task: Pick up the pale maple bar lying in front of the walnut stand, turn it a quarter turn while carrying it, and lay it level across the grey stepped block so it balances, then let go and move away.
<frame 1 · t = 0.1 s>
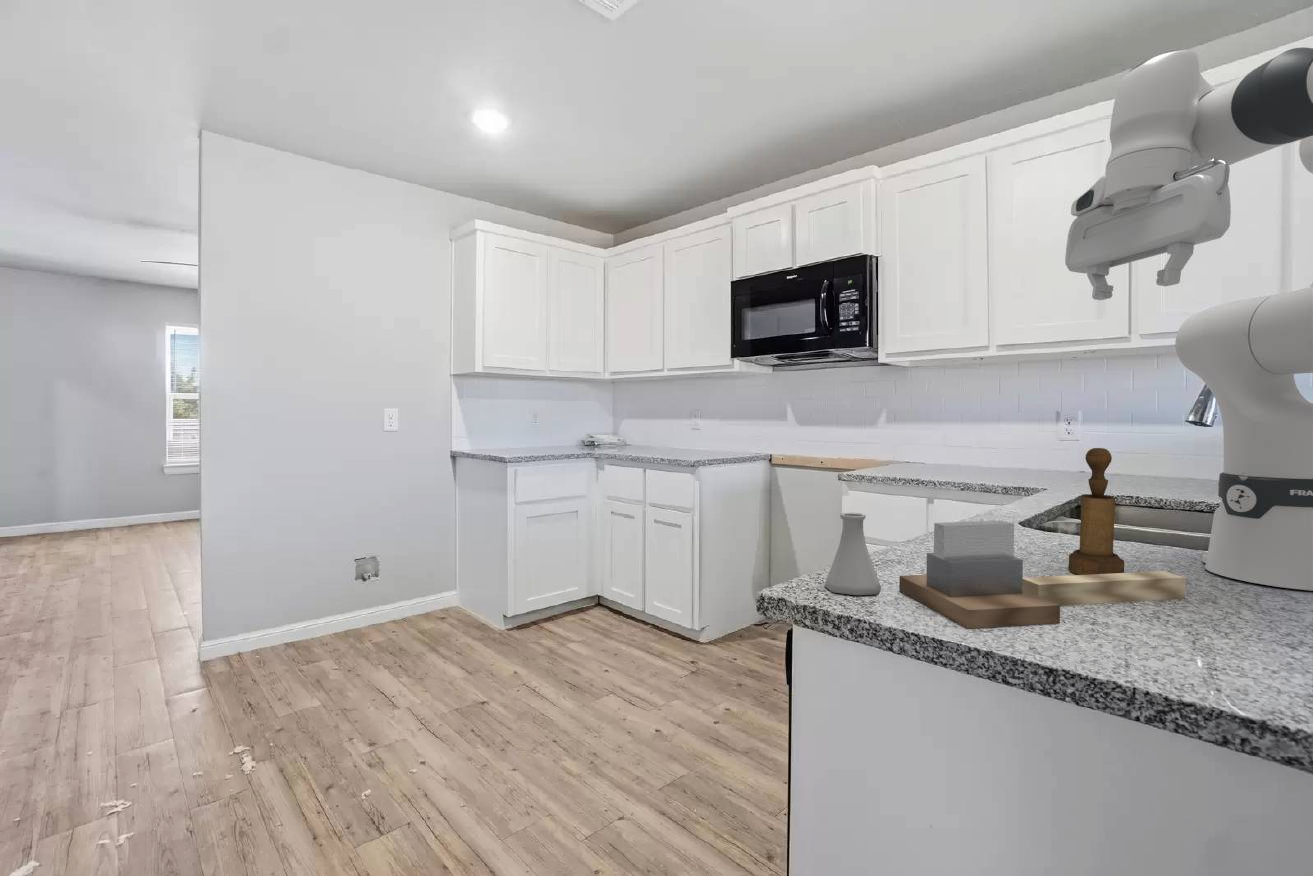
hand: (1132, 292, 80), 39 cm above the counter, tool pointing down, fingers open, 8 cm apart
flask: (852, 590, 81), on the counter
brown tall knobbed post: (1095, 574, 88), on the counter
maple bar: (1102, 601, 76), on the counter
grey stepped block: (973, 556, 73), on the walnut base, point 6 cm above the counter
walnut base: (972, 605, 74), on the counter
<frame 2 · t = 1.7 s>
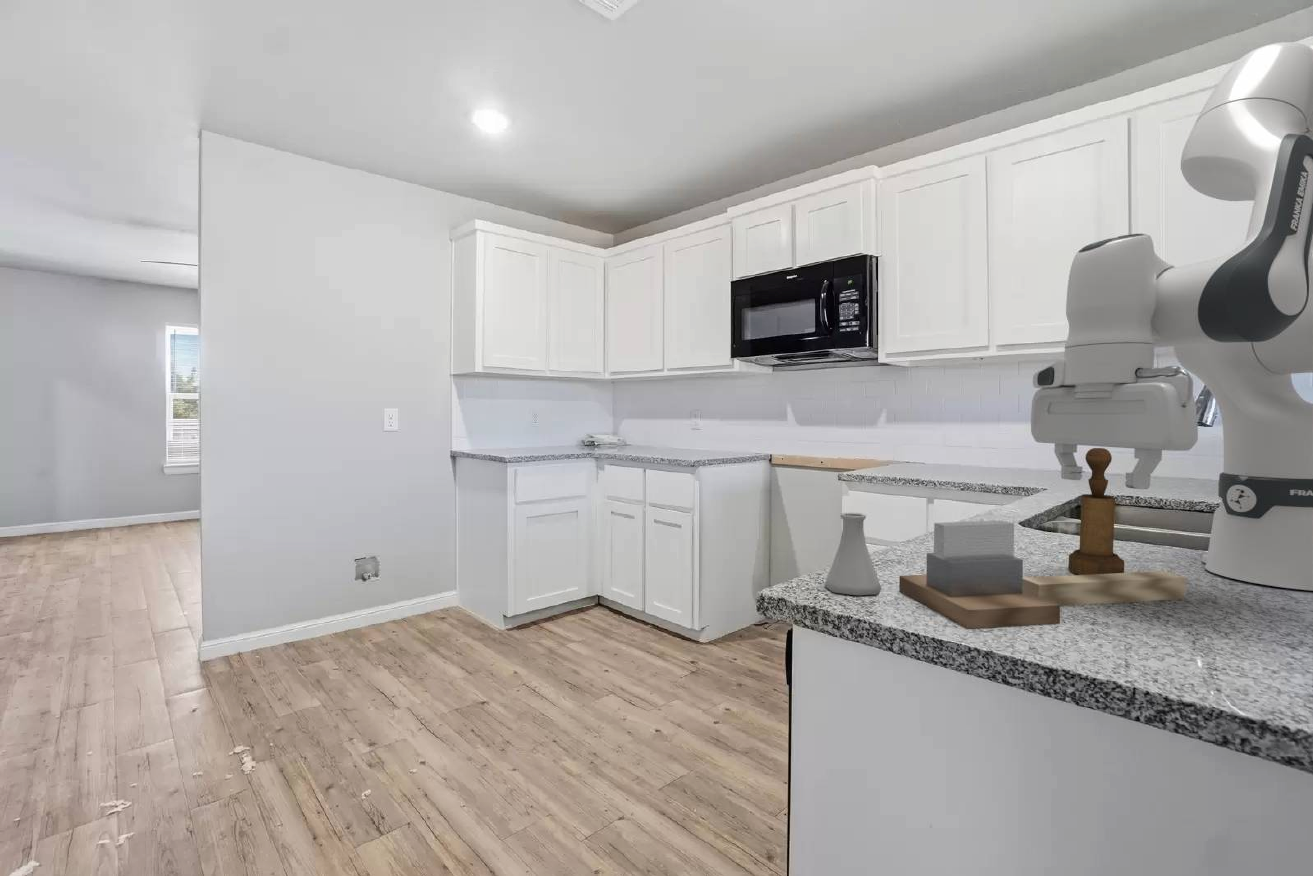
hand: (1102, 483, 75), 14 cm above the counter, tool pointing down, fingers open, 8 cm apart
nothing on the counter moved.
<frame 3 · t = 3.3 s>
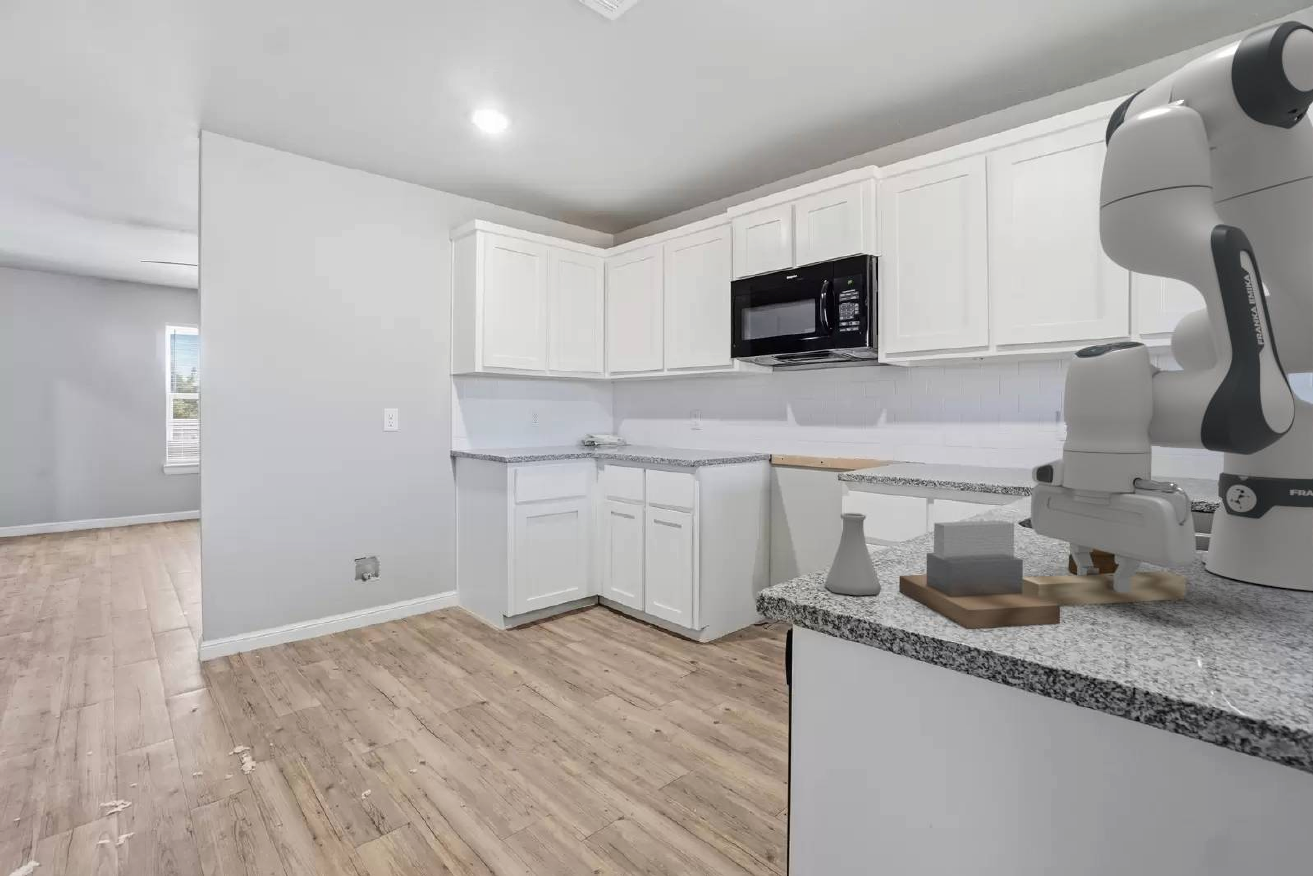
hand: (1102, 585, 76), 2 cm above the counter, tool pointing down, fingers closed on maple bar, 3 cm apart
maple bar: (1102, 601, 76), on the counter, touching gripper
everything else where it was.
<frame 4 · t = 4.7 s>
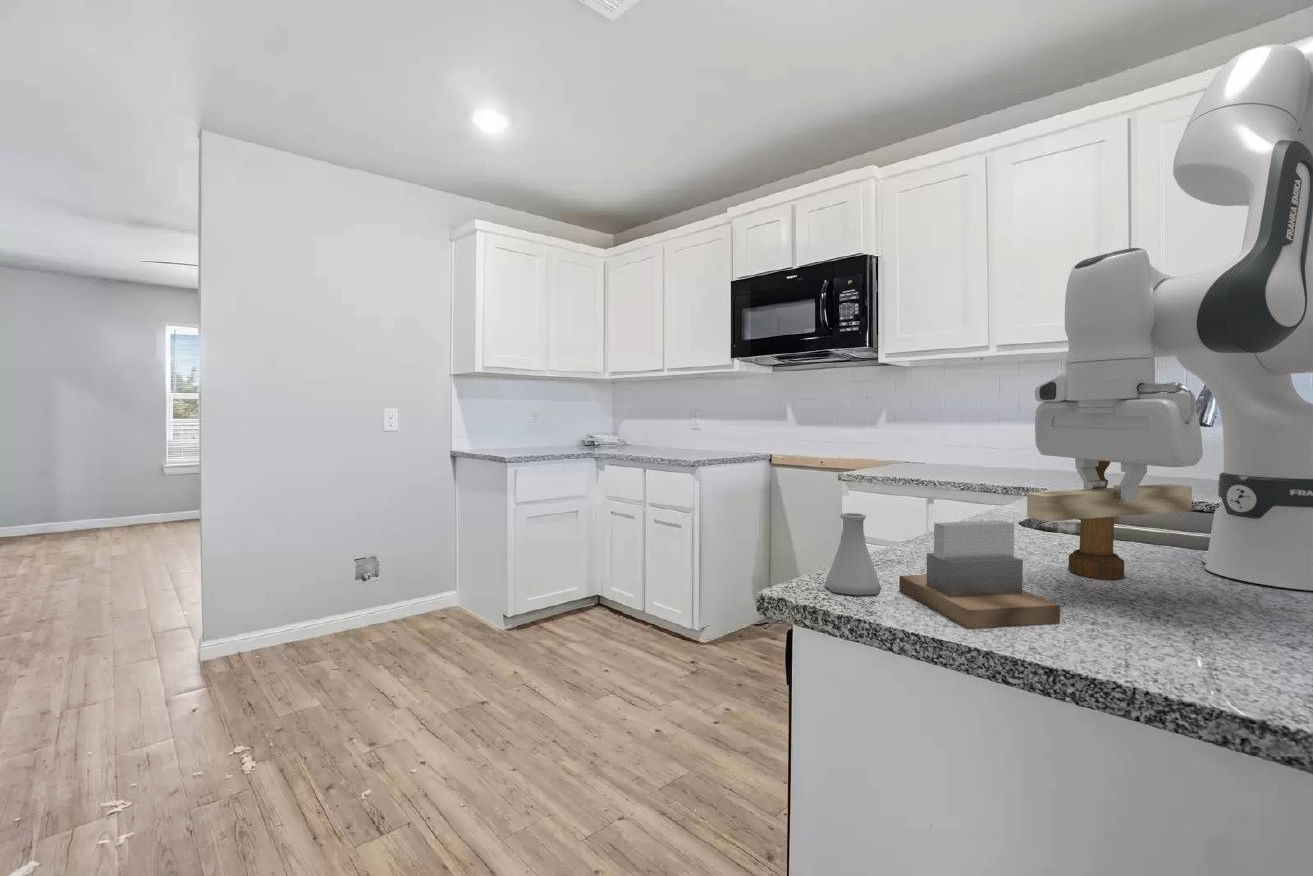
hand: (1109, 497, 76), 13 cm above the counter, tool pointing down, fingers closed on maple bar, 3 cm apart
maple bar: (1109, 514, 76), point 11 cm above the counter, touching gripper
everything else where it was.
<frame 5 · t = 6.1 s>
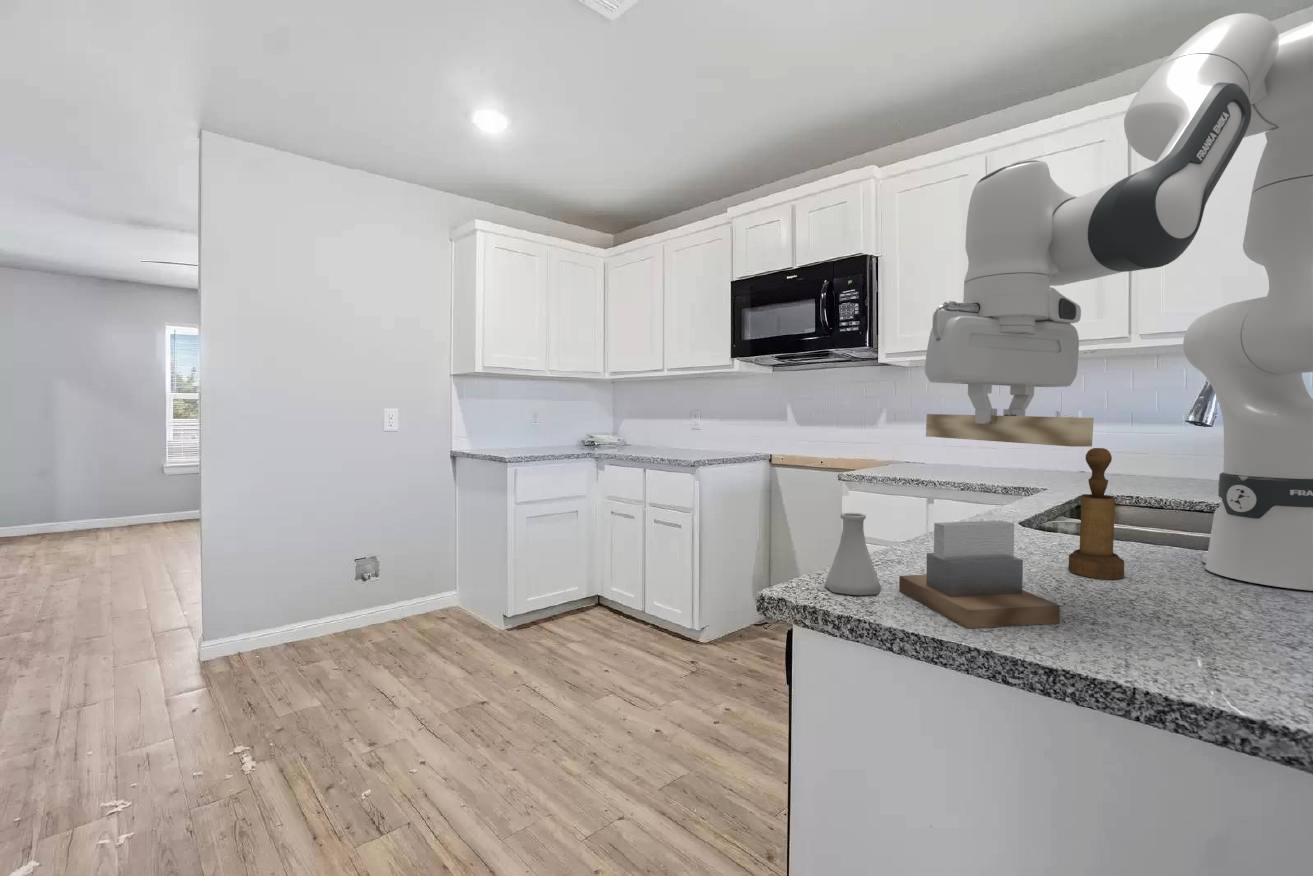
hand: (999, 423, 73), 22 cm above the counter, tool pointing down, fingers closed on maple bar, 3 cm apart
maple bar: (998, 440, 73), point 20 cm above the counter, touching gripper
everything else where it was.
when the fingers open (12 cm above the counter, at t = 8.1 s): maple bar stays where it is, resting on grey stepped block.
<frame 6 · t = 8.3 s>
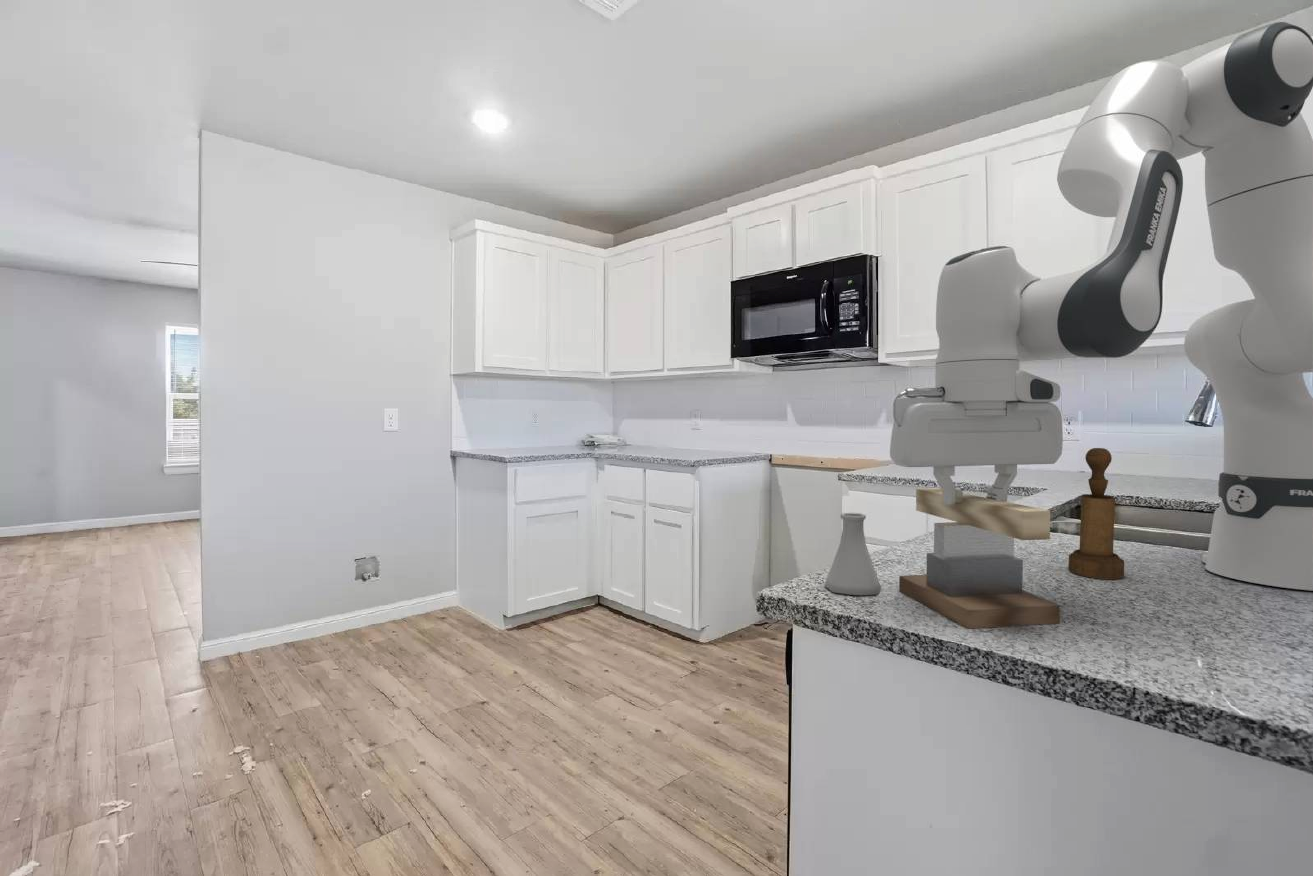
hand: (974, 503, 73), 12 cm above the counter, tool pointing down, fingers open, 4 cm apart
maple bar: (974, 523, 73), point 10 cm above the counter, touching grey stepped block
everything else where it was.
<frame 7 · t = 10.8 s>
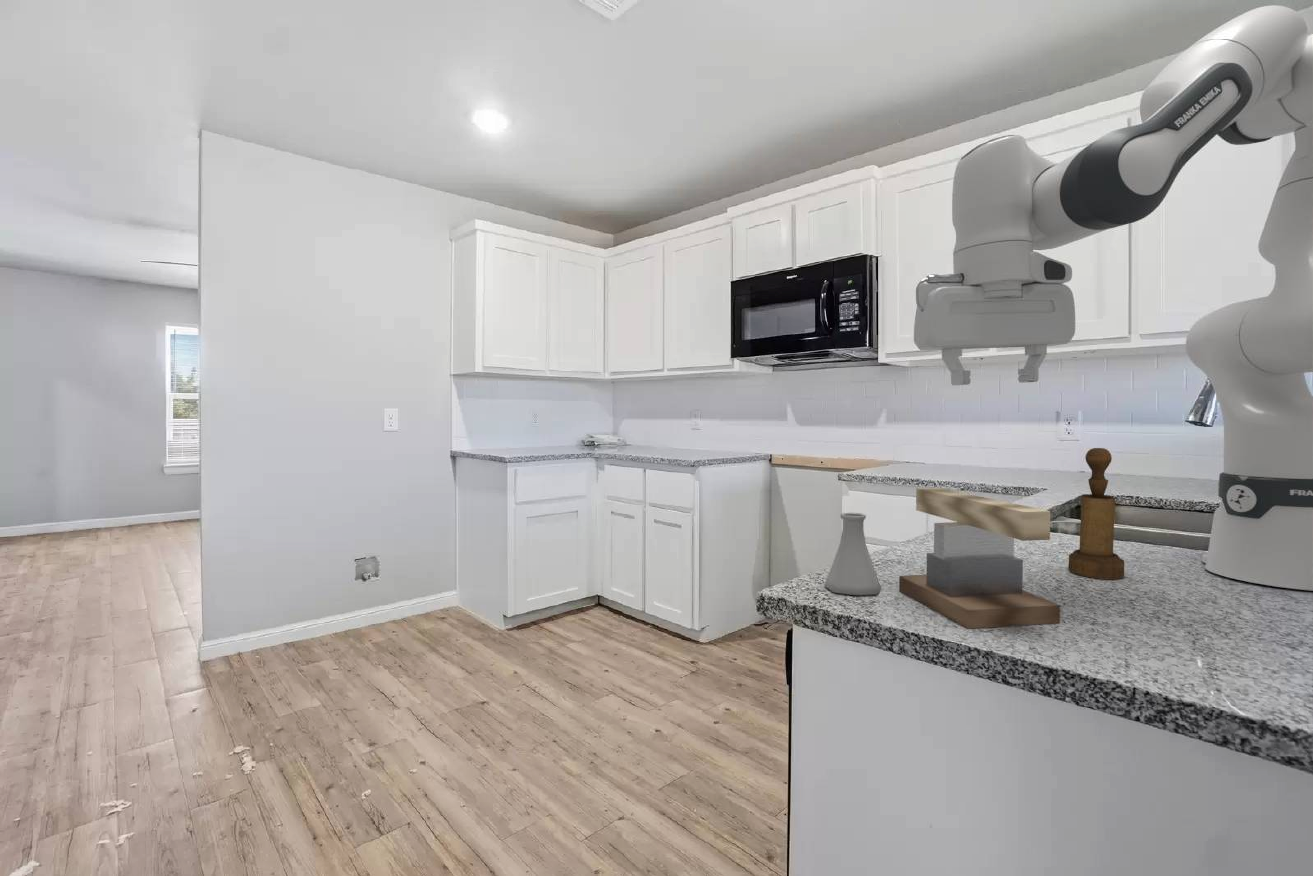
hand: (994, 383, 78), 27 cm above the counter, tool pointing down, fingers open, 8 cm apart
nothing on the counter moved.
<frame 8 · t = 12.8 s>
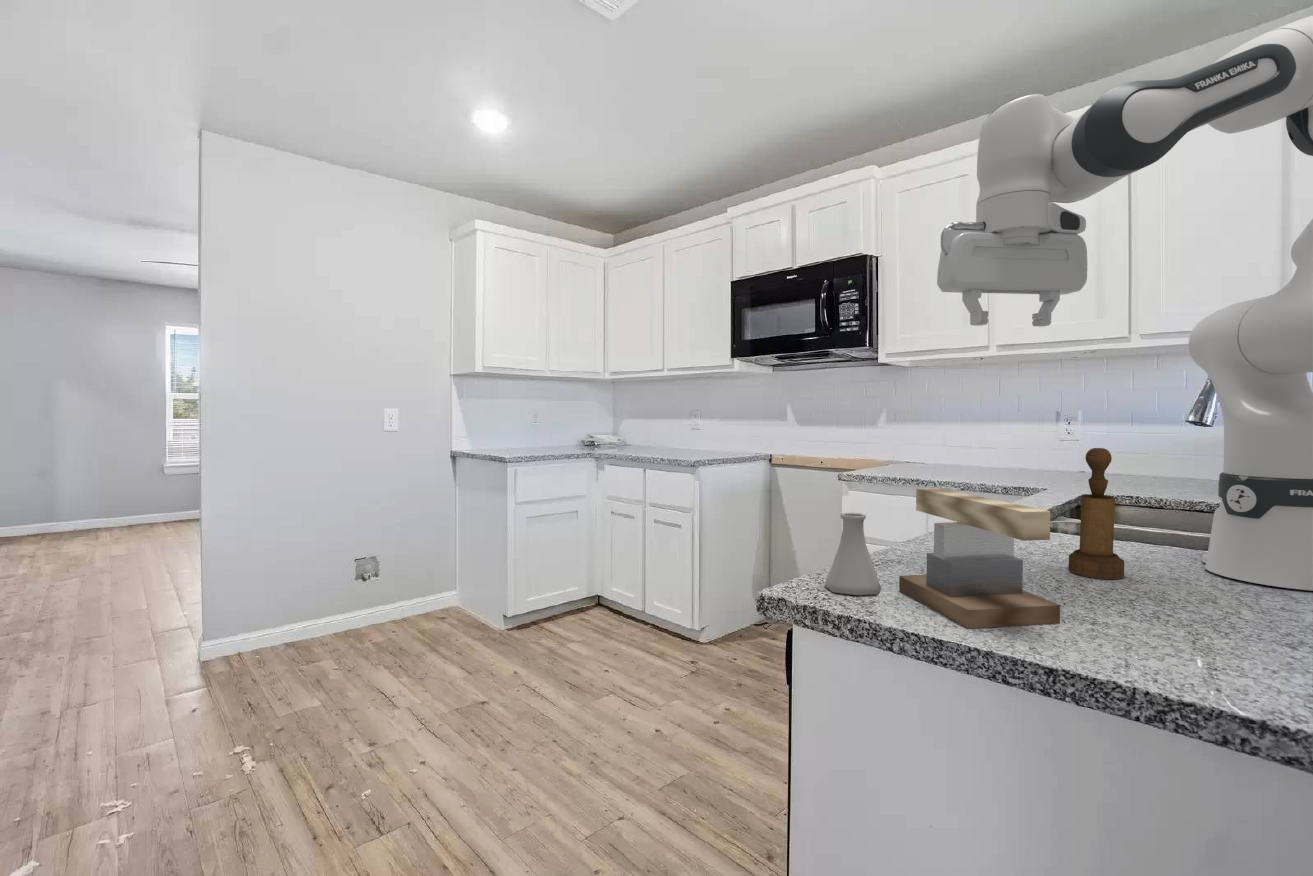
hand: (1010, 325, 84), 35 cm above the counter, tool pointing down, fingers open, 8 cm apart
nothing on the counter moved.
at the end: maple bar 0.1 cm off-centre on the grey stepped block, point 10.0 cm above the grey stepped block's base; maple bar tilted 0°; the gripper is holding nothing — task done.
